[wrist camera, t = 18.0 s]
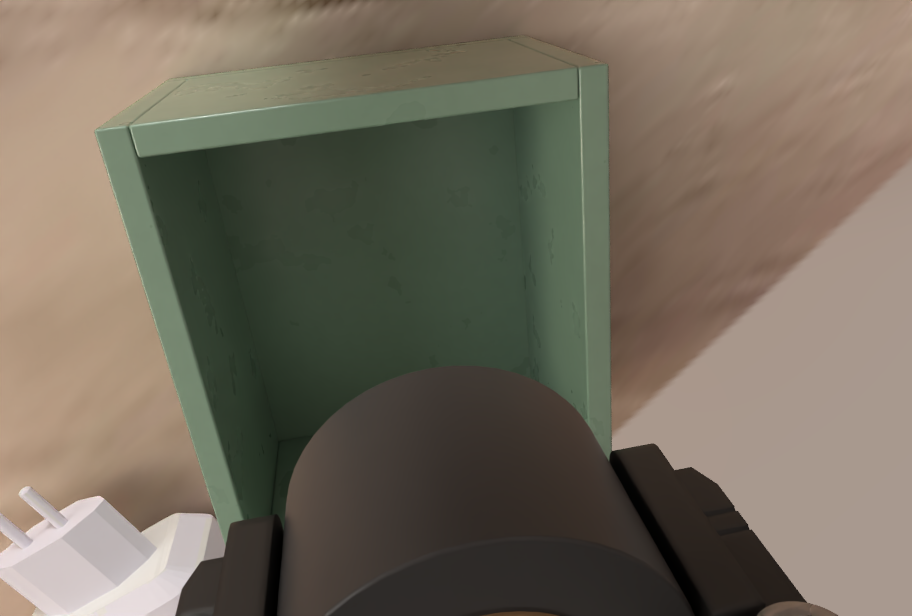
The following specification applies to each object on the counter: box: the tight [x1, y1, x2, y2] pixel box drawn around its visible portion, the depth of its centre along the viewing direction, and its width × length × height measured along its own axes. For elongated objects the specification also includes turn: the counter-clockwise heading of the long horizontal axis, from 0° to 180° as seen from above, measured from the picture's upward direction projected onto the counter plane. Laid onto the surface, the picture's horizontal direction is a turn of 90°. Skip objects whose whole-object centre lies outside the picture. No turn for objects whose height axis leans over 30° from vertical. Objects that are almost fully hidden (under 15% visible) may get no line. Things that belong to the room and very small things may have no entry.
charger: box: [0, 486, 225, 616], centre depth 31 cm, size 5×9×15 cm
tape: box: [276, 366, 695, 616], centre depth 11 cm, size 6×6×4 cm
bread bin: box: [95, 35, 612, 547], centre depth 25 cm, size 16×13×9 cm
